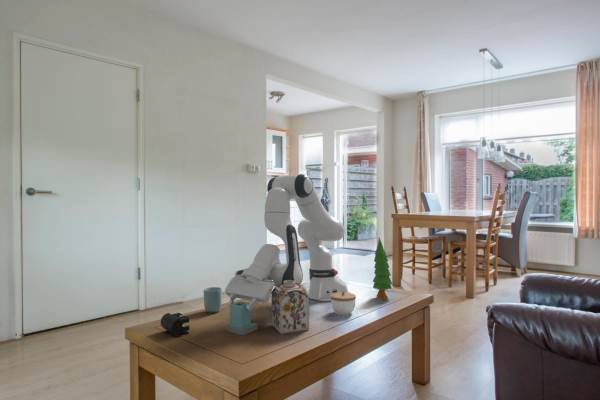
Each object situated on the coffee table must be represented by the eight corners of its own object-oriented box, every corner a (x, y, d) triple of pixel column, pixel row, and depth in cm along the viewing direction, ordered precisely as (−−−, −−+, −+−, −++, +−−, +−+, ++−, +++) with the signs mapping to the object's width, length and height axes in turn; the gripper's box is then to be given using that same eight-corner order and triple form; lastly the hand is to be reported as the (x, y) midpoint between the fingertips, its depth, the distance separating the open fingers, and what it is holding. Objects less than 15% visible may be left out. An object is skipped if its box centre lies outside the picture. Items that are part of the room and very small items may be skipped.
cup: (217, 314, 171) (217, 291, 171) (200, 313, 173) (200, 290, 173) (224, 309, 179) (224, 287, 179) (208, 308, 181) (208, 286, 180)
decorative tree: (369, 296, 198) (368, 236, 198) (385, 294, 202) (384, 235, 201) (380, 301, 189) (380, 238, 189) (397, 299, 193) (396, 237, 192)
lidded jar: (353, 318, 164) (352, 295, 164) (328, 315, 167) (327, 293, 167) (358, 310, 174) (357, 289, 174) (334, 309, 177) (333, 288, 177)
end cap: (160, 332, 150) (160, 314, 150) (178, 327, 155) (177, 310, 155) (171, 338, 143) (171, 320, 143) (190, 334, 147) (189, 315, 147)
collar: (240, 322, 154) (239, 301, 154) (250, 324, 151) (250, 303, 151) (230, 325, 150) (229, 304, 150) (240, 328, 147) (240, 306, 147)
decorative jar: (271, 325, 156) (270, 279, 156) (298, 321, 160) (298, 277, 160) (280, 335, 145) (279, 285, 145) (310, 330, 149) (309, 282, 149)
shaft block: (242, 325, 156) (242, 307, 156) (257, 329, 151) (257, 311, 151) (227, 331, 150) (227, 312, 150) (242, 335, 145) (242, 316, 145)
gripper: (279, 285, 154) (263, 316, 146) (240, 279, 166) (223, 308, 158) (272, 275, 150) (255, 307, 142) (233, 270, 162) (215, 299, 154)
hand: (238, 308), depth 150 cm, fingers open, 8 cm apart
